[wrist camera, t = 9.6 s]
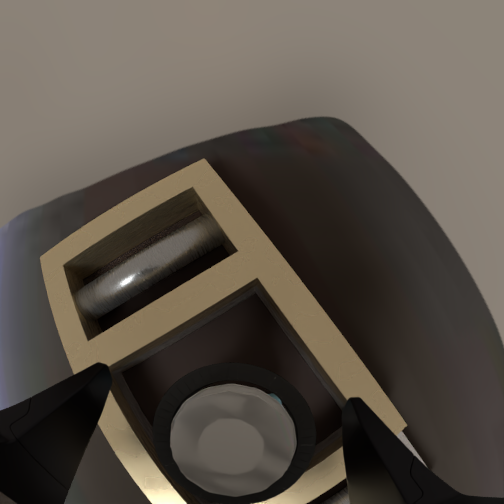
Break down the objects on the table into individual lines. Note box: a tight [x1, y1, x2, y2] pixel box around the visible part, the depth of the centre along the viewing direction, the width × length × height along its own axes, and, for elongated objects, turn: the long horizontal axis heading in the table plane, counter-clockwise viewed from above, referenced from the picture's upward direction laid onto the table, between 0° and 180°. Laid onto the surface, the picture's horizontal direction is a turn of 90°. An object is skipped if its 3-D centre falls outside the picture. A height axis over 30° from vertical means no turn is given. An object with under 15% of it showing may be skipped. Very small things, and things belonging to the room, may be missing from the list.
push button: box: [153, 363, 316, 504], centre depth 11 cm, size 7×5×10 cm
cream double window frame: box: [40, 159, 427, 504], centre depth 14 cm, size 15×31×3 cm, turn 34°
